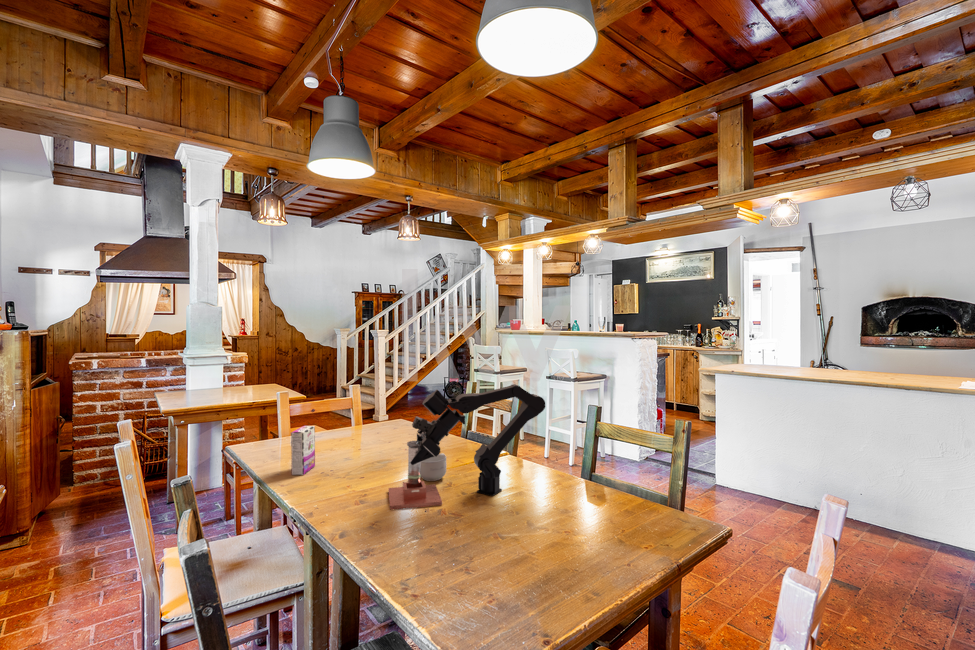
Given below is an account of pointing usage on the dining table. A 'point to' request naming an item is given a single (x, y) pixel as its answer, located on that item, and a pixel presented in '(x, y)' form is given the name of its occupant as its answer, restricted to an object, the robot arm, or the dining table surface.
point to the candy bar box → (303, 450)
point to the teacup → (433, 468)
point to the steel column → (415, 469)
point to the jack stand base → (414, 496)
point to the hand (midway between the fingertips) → (410, 460)
